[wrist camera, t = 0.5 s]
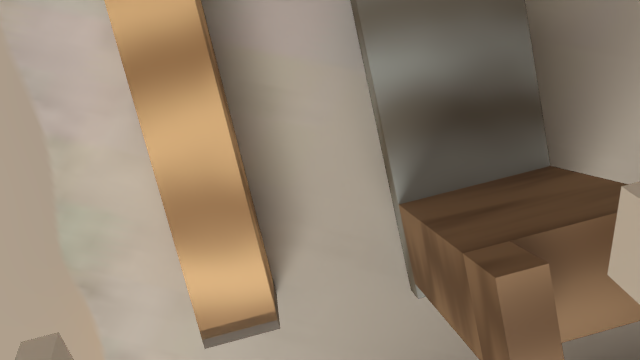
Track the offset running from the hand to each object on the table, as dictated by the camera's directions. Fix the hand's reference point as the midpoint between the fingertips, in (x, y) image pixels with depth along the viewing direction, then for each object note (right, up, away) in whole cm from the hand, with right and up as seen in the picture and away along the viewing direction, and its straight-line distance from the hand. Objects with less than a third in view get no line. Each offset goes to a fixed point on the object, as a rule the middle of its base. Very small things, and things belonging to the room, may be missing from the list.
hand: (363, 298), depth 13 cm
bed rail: (-9, +9, +18) cm, 22 cm away
